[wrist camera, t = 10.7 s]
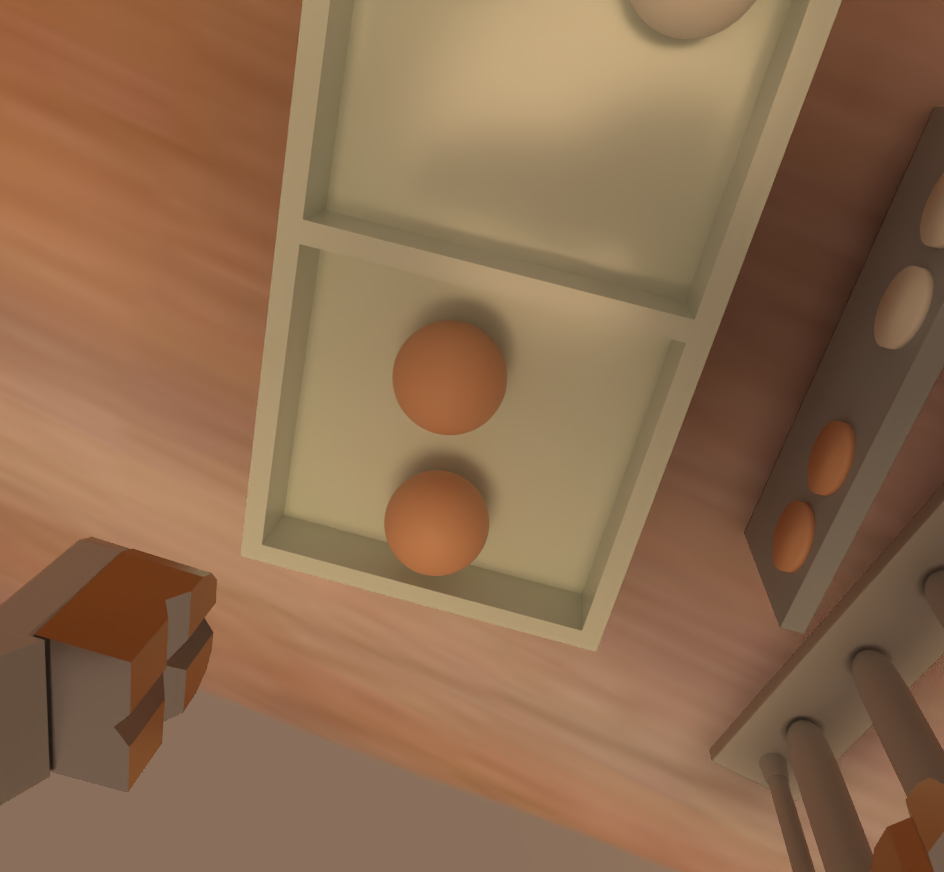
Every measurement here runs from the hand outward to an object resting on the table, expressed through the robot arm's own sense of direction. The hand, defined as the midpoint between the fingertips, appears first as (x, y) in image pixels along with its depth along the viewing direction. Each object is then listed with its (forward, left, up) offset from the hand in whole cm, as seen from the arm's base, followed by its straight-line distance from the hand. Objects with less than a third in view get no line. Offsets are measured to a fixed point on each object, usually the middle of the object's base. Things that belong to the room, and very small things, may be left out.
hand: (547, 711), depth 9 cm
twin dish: (+3, 0, -21) cm, 21 cm away
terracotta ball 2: (+3, +9, -20) cm, 22 cm away
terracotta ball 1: (+3, +3, -20) cm, 20 cm away
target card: (-10, 0, -21) cm, 23 cm away
